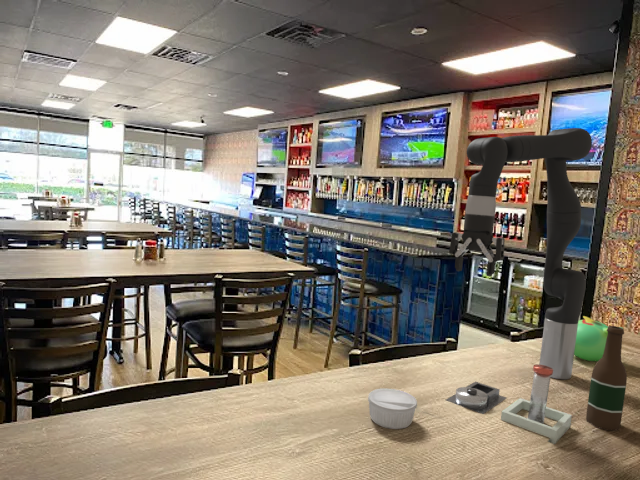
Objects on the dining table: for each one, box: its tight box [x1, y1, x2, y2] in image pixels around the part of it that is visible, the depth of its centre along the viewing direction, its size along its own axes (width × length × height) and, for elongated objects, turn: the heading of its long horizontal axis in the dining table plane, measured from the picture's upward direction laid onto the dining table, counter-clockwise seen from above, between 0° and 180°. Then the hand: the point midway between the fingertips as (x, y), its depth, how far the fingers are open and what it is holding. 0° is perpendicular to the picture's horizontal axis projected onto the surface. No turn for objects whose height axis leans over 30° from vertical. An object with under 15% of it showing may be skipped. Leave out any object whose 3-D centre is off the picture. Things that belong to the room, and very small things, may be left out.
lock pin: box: [527, 363, 553, 424], centre depth 113 cm, size 4×4×13 cm
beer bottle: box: [585, 325, 628, 431], centre depth 116 cm, size 8×8×24 cm
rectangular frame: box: [500, 397, 573, 445], centre depth 113 cm, size 12×12×3 cm
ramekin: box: [367, 387, 418, 430], centre depth 110 cm, size 11×11×5 cm
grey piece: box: [445, 381, 507, 415], centre depth 124 cm, size 15×10×4 cm, turn 138°
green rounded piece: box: [574, 315, 624, 362], centre depth 168 cm, size 18×17×15 cm
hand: (473, 273), depth 130 cm, fingers open, 8 cm apart
